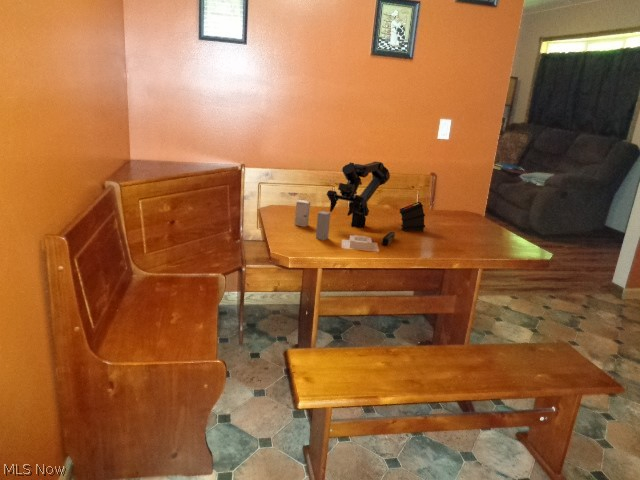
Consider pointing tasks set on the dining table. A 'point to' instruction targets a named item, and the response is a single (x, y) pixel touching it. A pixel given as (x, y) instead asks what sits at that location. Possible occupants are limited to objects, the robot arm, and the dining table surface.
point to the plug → (323, 225)
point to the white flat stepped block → (360, 243)
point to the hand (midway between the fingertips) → (339, 213)
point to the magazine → (413, 217)
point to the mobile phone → (388, 239)
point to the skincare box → (302, 213)
